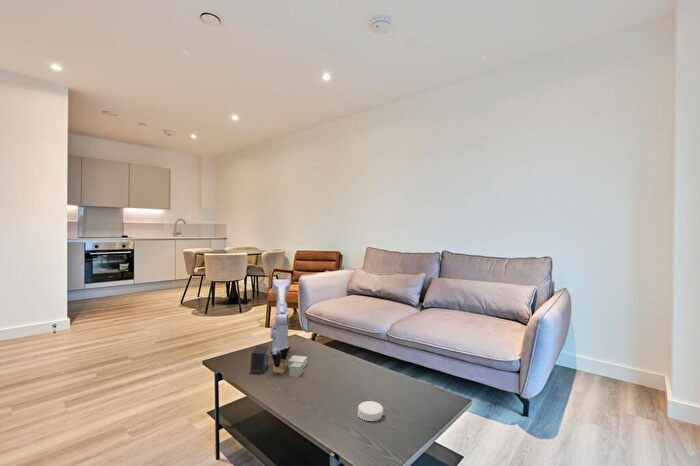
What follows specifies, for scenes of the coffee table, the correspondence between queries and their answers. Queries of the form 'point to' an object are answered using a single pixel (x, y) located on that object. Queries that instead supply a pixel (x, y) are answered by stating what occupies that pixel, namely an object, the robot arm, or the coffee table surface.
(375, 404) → the coaster
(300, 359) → the base block
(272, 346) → the robot arm
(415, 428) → the coffee table surface
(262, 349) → the small box
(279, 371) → the oak cube
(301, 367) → the sage cube
